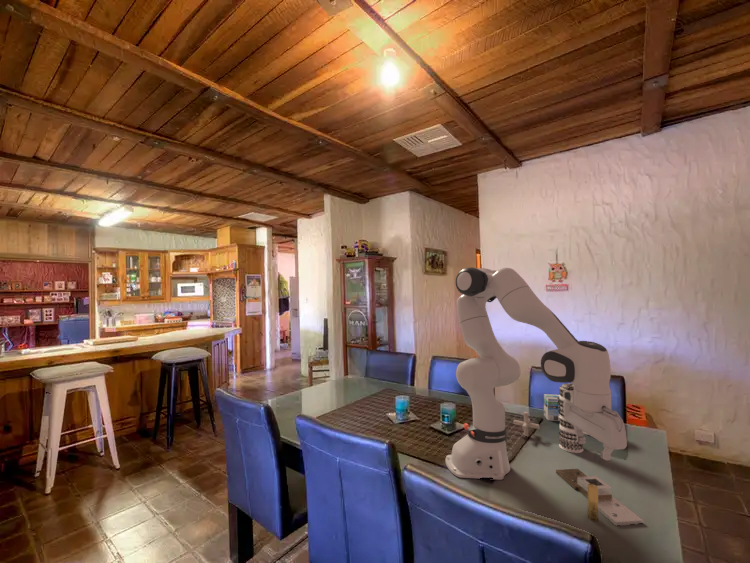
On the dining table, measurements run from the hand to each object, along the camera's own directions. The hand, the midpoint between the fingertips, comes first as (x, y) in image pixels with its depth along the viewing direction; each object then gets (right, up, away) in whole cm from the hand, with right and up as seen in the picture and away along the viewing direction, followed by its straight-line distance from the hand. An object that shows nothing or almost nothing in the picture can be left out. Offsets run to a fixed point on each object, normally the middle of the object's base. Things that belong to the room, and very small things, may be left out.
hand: (592, 450), depth 96 cm
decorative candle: (+17, -20, +42) cm, 49 cm away
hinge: (+7, -19, +11) cm, 23 cm away
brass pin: (0, -19, 0) cm, 19 cm away
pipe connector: (+4, -20, +52) cm, 56 cm away
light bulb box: (+28, -20, +72) cm, 79 cm away
